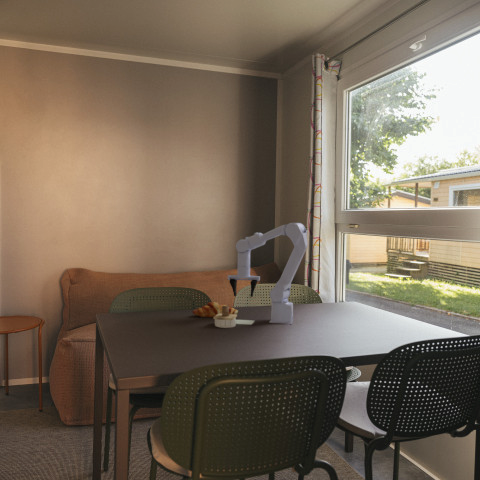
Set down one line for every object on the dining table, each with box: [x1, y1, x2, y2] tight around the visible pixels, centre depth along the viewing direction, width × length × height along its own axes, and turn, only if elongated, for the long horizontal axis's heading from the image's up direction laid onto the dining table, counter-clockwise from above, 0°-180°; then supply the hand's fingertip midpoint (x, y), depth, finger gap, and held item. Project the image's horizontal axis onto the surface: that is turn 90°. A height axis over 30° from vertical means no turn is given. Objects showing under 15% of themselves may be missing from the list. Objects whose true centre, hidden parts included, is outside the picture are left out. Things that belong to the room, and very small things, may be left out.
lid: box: [212, 305, 238, 320], centre depth 187 cm, size 8×8×5 cm
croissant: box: [192, 301, 239, 318], centre depth 208 cm, size 21×10×8 cm, turn 106°
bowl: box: [214, 317, 237, 329], centre depth 187 cm, size 8×8×4 cm
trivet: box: [235, 319, 255, 325], centre depth 194 cm, size 9×8×1 cm
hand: (243, 296), depth 204 cm, fingers open, 7 cm apart
